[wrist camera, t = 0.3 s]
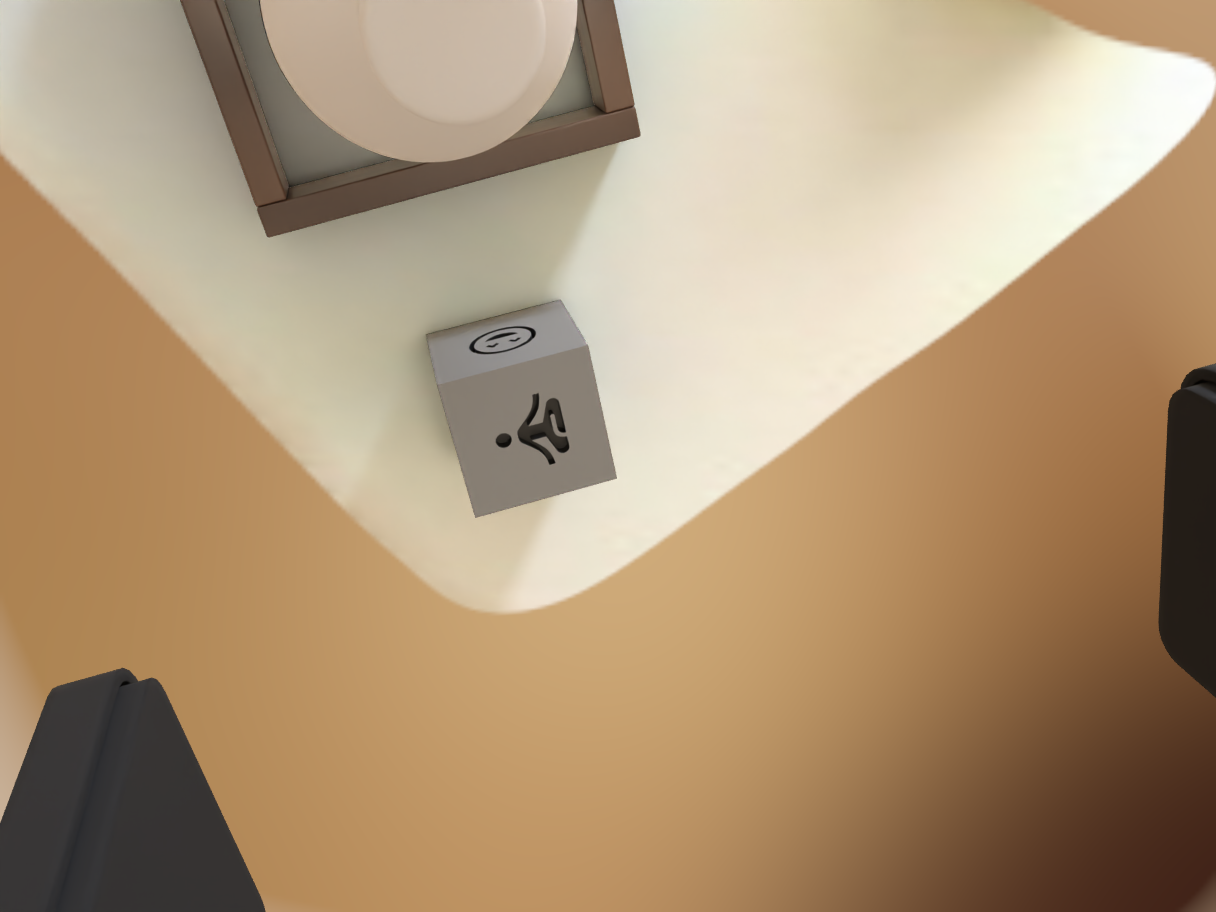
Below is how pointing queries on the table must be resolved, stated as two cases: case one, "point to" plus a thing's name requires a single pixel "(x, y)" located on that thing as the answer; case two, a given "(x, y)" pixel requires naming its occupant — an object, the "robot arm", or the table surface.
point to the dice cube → (522, 407)
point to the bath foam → (422, 68)
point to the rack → (400, 177)
